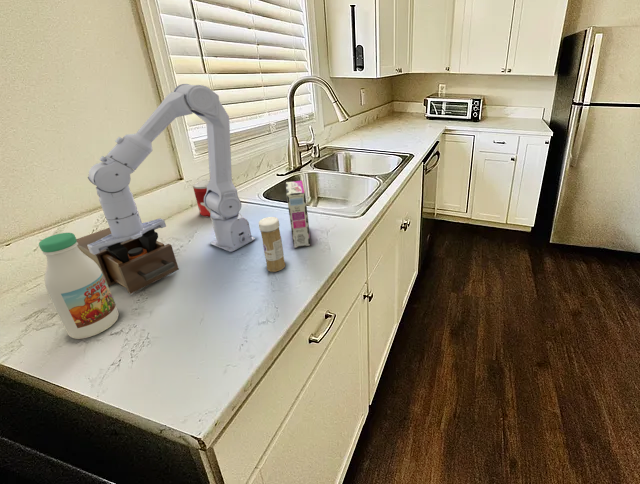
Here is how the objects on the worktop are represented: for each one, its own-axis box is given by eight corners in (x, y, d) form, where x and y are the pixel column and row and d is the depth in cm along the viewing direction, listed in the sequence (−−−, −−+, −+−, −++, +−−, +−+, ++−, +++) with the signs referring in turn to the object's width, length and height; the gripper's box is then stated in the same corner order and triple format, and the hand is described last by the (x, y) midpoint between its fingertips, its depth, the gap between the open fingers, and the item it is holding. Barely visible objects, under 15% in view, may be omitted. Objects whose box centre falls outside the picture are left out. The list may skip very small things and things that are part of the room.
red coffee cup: (214, 218, 110) (207, 187, 106) (194, 216, 111) (186, 186, 107) (230, 208, 117) (223, 179, 113) (211, 206, 118) (204, 178, 114)
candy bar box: (312, 245, 93) (305, 192, 87) (293, 249, 91) (285, 195, 85) (308, 228, 102) (302, 179, 96) (292, 231, 101) (284, 181, 95)
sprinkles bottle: (263, 269, 82) (254, 221, 77) (277, 260, 86) (269, 214, 81) (275, 274, 80) (266, 226, 75) (289, 265, 84) (282, 218, 79)
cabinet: (162, 261, 86) (152, 232, 83) (108, 286, 77) (96, 254, 73) (136, 248, 92) (126, 221, 89) (84, 270, 83) (71, 240, 79)
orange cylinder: (146, 263, 82) (140, 244, 80) (155, 267, 80) (149, 248, 78) (128, 271, 78) (121, 252, 76) (137, 276, 77) (129, 256, 75)
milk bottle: (62, 346, 60) (14, 254, 53) (77, 319, 67) (36, 233, 60) (114, 331, 64) (76, 242, 56) (124, 306, 70) (91, 224, 63)
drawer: (188, 274, 79) (181, 249, 77) (140, 300, 71) (130, 272, 68) (152, 256, 87) (144, 233, 84) (104, 278, 78) (94, 253, 76)
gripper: (90, 232, 66) (112, 287, 71) (166, 205, 78) (180, 254, 83) (75, 224, 69) (97, 277, 74) (150, 200, 81) (165, 247, 86)
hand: (140, 265), depth 79 cm, fingers closed on orange cylinder, 4 cm apart
